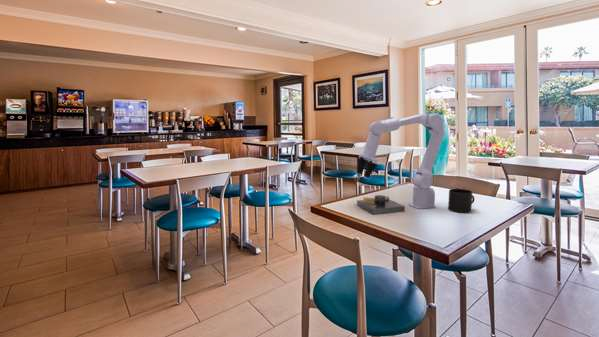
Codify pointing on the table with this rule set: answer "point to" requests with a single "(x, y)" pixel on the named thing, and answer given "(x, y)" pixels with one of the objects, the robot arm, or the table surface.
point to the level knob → (376, 199)
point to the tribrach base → (381, 207)
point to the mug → (460, 200)
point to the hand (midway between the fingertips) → (363, 175)
